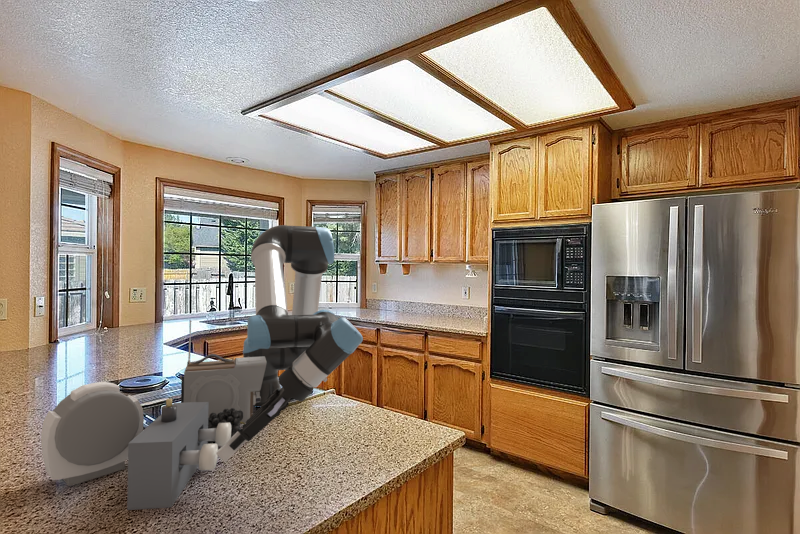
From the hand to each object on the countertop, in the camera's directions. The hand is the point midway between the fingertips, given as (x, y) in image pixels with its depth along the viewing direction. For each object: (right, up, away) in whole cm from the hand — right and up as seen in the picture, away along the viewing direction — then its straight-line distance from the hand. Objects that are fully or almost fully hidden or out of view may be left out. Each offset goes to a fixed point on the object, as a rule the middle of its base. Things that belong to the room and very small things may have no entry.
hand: (221, 456), depth 91 cm
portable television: (-16, -7, +40) cm, 44 cm away
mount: (-13, -7, +4) cm, 15 cm away
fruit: (-12, -7, +24) cm, 28 cm away
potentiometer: (-13, +6, +4) cm, 15 cm away
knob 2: (-5, -2, -1) cm, 6 cm away
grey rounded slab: (-31, -7, +5) cm, 32 cm away
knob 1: (-7, -2, +11) cm, 13 cm away
